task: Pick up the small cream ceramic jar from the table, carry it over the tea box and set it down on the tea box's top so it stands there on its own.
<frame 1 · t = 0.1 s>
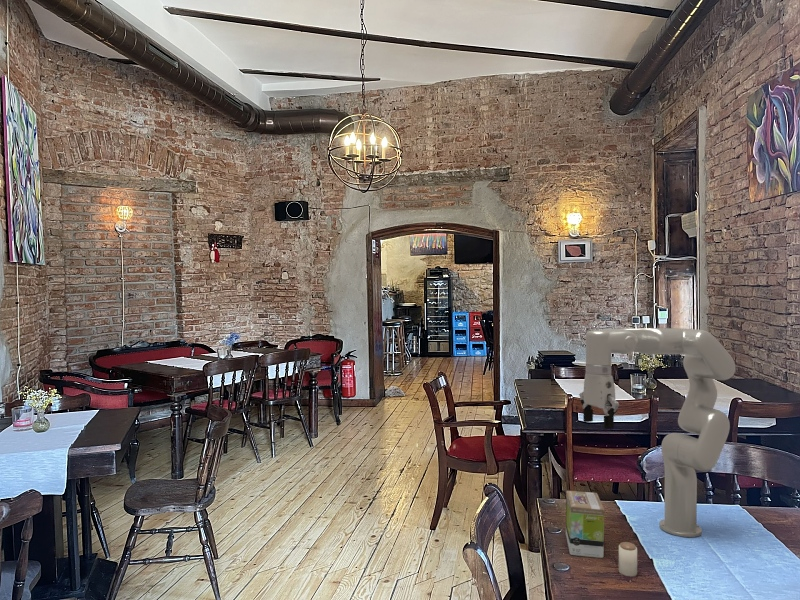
hand: (598, 424, 174), 37 cm above the table, tool pointing down, fingers open, 9 cm apart
tea box: (583, 546, 173), on the table
jar: (627, 572, 157), on the table
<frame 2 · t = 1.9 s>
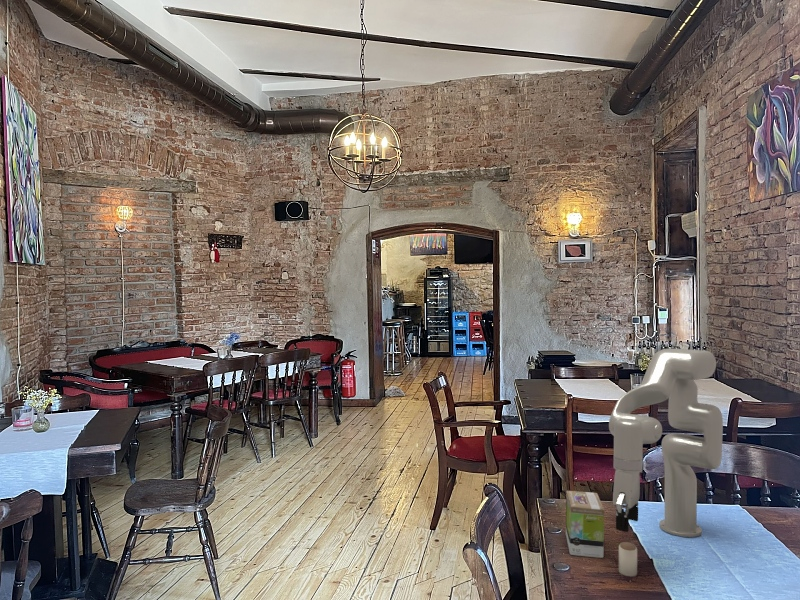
hand: (627, 525, 156), 13 cm above the table, tool pointing down, fingers open, 9 cm apart
nothing on the table moved.
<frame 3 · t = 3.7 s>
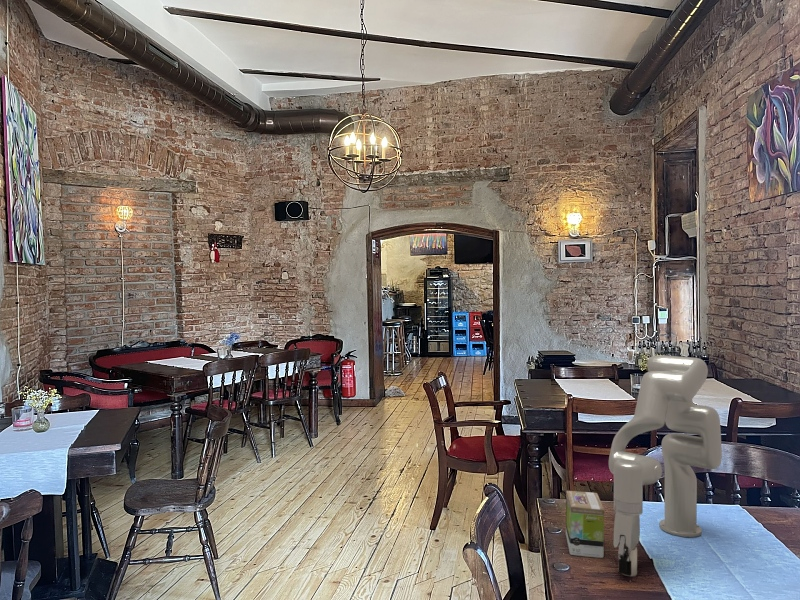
hand: (627, 569, 157), 1 cm above the table, tool pointing down, fingers closed on jar, 4 cm apart
jar: (627, 571, 157), on the table, touching gripper
everything else where it was.
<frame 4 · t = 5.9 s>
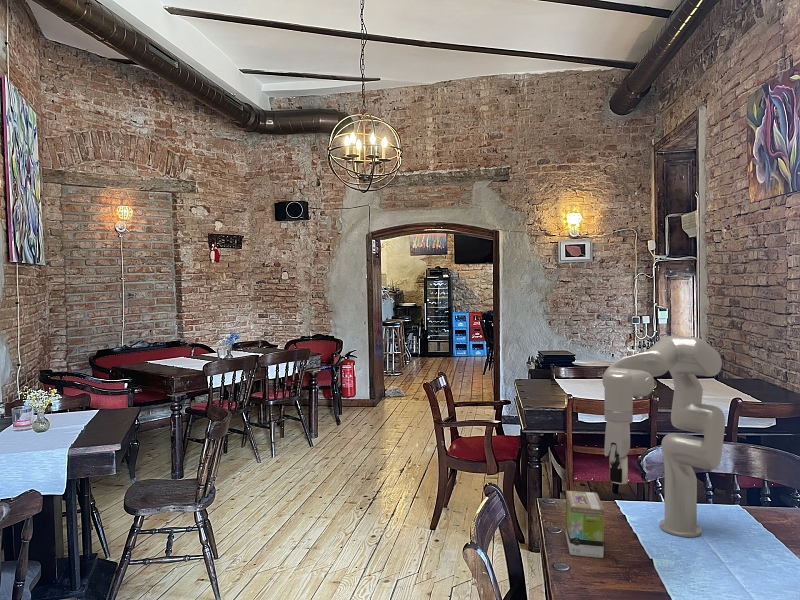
hand: (618, 478, 160), 25 cm above the table, tool pointing down, fingers closed on jar, 4 cm apart
jar: (618, 481, 160), point 24 cm above the table, touching gripper
everything else where it was.
when the fingers open (17 cm above the table, at t = 8.6 s): jar drops 2 cm, resting on tea box.
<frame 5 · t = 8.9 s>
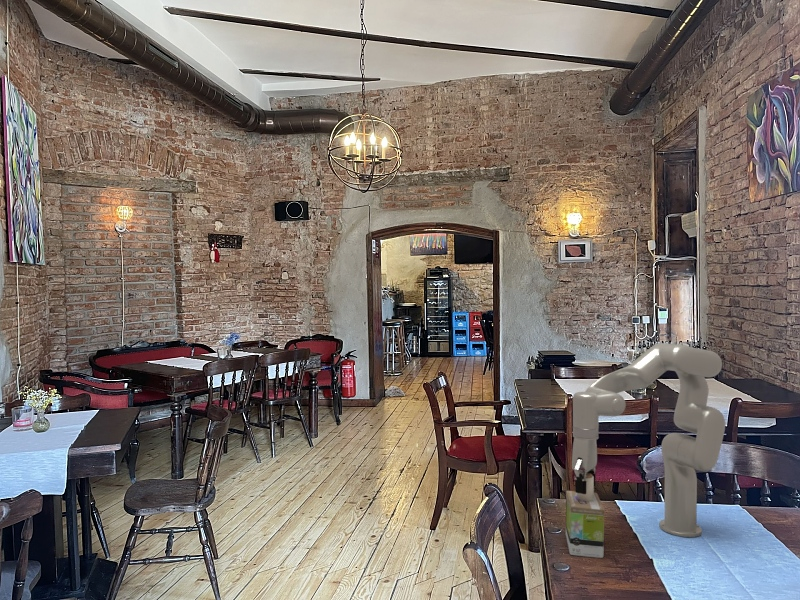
hand: (585, 489, 173), 18 cm above the table, tool pointing down, fingers open, 7 cm apart
tea box: (583, 546, 173), on the table, touching jar
jar: (585, 498, 173), point 15 cm above the table, touching tea box
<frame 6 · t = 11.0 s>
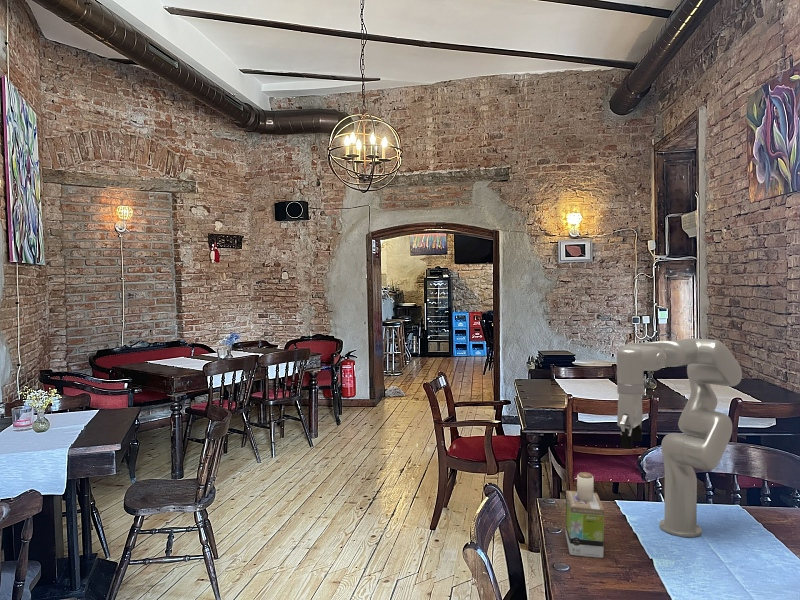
hand: (631, 444, 171), 32 cm above the table, tool pointing down, fingers open, 9 cm apart
nothing on the table moved.
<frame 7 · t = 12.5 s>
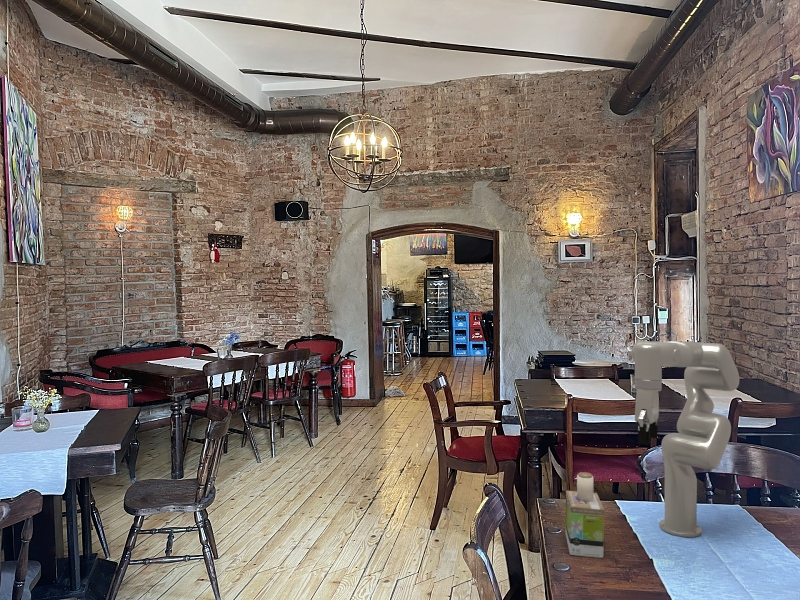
hand: (647, 440, 170), 33 cm above the table, tool pointing down, fingers open, 9 cm apart
nothing on the table moved.
at the end: jar inside the target area on the tea box (0.4 cm from its centre), point 15.0 cm above the tea box's base; jar tilted 0°; the gripper is holding nothing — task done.
